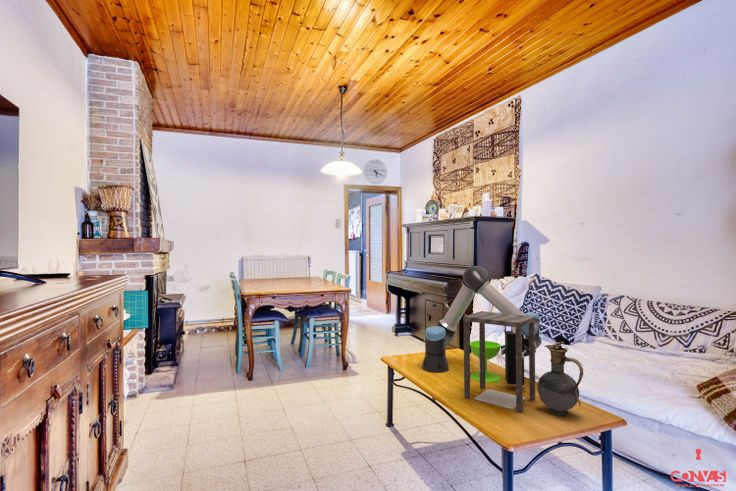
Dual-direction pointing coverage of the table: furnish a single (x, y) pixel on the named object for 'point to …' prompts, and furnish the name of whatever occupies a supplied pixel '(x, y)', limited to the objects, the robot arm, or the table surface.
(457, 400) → the table surface
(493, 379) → the wineglass
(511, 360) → the tissue box
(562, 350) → the pitcher
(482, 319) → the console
